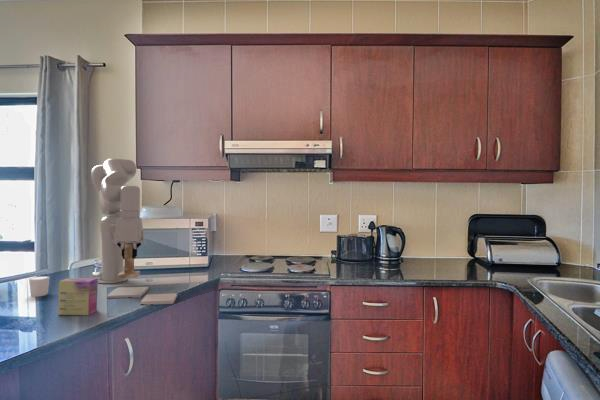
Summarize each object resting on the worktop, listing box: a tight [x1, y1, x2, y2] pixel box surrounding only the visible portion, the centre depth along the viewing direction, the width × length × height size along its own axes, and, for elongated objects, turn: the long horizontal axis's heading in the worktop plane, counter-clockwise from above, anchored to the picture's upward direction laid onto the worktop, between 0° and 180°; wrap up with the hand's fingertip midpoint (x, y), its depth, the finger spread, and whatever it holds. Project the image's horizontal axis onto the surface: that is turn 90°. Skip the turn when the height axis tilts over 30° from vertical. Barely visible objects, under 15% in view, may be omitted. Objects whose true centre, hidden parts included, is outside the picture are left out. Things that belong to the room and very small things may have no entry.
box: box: [57, 277, 99, 316], centre depth 124 cm, size 10×6×12 cm, turn 92°
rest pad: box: [106, 286, 150, 299], centre depth 150 cm, size 13×13×1 cm
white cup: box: [28, 275, 51, 298], centre depth 145 cm, size 7×7×7 cm
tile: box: [140, 293, 178, 306], centre depth 141 cm, size 2×10×12 cm
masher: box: [117, 242, 141, 279], centre depth 149 cm, size 7×7×14 cm
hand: (129, 257), depth 149 cm, fingers closed on masher, 3 cm apart
